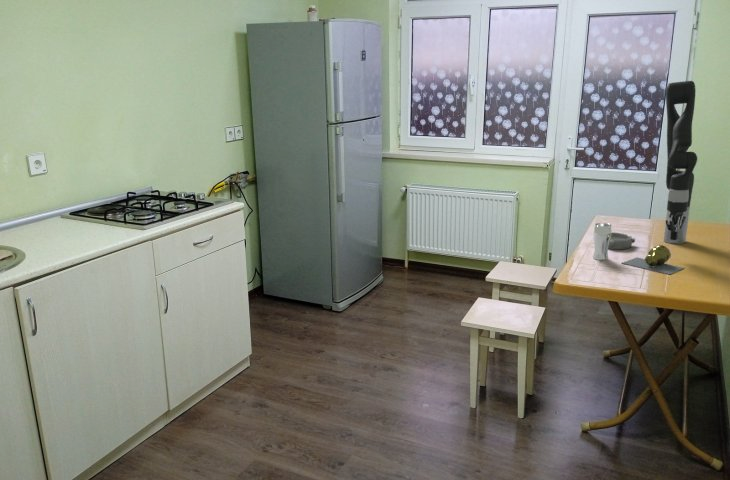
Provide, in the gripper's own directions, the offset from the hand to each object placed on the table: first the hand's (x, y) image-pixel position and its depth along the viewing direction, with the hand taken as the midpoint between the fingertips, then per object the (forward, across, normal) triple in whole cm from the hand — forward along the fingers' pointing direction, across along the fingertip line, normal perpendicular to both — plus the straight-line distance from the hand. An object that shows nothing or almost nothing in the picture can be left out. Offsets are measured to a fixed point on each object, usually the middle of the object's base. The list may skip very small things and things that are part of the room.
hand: (673, 239), depth 249 cm
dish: (+9, -1, -26) cm, 27 cm away
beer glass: (+8, +22, -20) cm, 31 cm away
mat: (+8, +16, 0) cm, 18 cm away
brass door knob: (+4, +10, +1) cm, 11 cm away
